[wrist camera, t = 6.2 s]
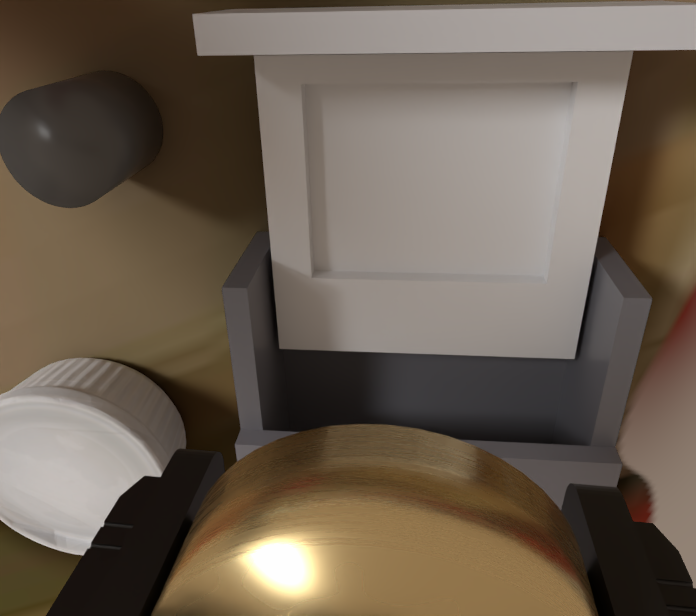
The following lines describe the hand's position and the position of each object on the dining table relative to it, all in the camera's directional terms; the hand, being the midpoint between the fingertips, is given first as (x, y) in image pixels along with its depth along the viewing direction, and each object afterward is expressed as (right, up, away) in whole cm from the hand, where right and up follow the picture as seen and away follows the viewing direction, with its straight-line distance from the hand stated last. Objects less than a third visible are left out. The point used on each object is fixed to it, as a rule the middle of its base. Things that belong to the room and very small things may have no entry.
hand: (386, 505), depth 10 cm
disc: (0, -1, -1) cm, 1 cm away
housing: (+3, +1, +20) cm, 21 cm away
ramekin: (-15, -3, +25) cm, 29 cm away
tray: (+3, +8, +15) cm, 17 cm away
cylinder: (-11, +12, +16) cm, 23 cm away
